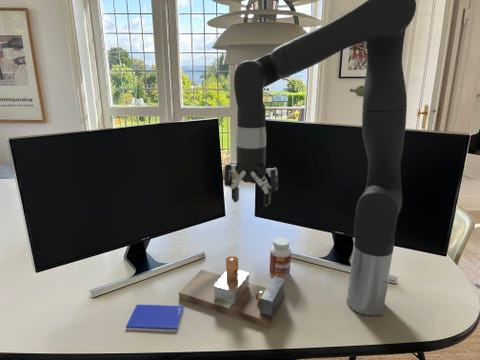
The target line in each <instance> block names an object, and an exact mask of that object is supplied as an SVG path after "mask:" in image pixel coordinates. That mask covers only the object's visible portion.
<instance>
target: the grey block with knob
mask: <svg viewBox="0 0 480 360" xmlns="http://www.w3.org/2000/svg"><path fill="white" fill-rule="evenodd" d="M285 281H286V278H279V277H275V276H274V277H273V276H272V278H271V280H270V282H269V283H268V285H267V287H266V288H267V289H266V290H265V291H258V292H257V294H256V299H257V301H258V302H260V315H261V316H264V317H267V318H270V319H272V317H273V315H274V313H275V311H276V309H277V307H278V305H279V303H280V302H281V300H282V298H283V296H284V293H285V283H286V282H285Z"/></svg>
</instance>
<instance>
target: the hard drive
mask: <svg viewBox="0 0 480 360" xmlns="http://www.w3.org/2000/svg"><path fill="white" fill-rule="evenodd" d="M184 311H185V305H166V304H165V305H163V304H141V303H140V304H138V303H137V304H136V306H135V308H134V309H133V311H132V313H131V316H130V317H129V319H128V321H127V324H126V325H125V329H126V330H132V331H157V332H172V333H173V332H174V333H175V332H178V331H179V327H180V325H181V320H182V317H183V314H184Z"/></svg>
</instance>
